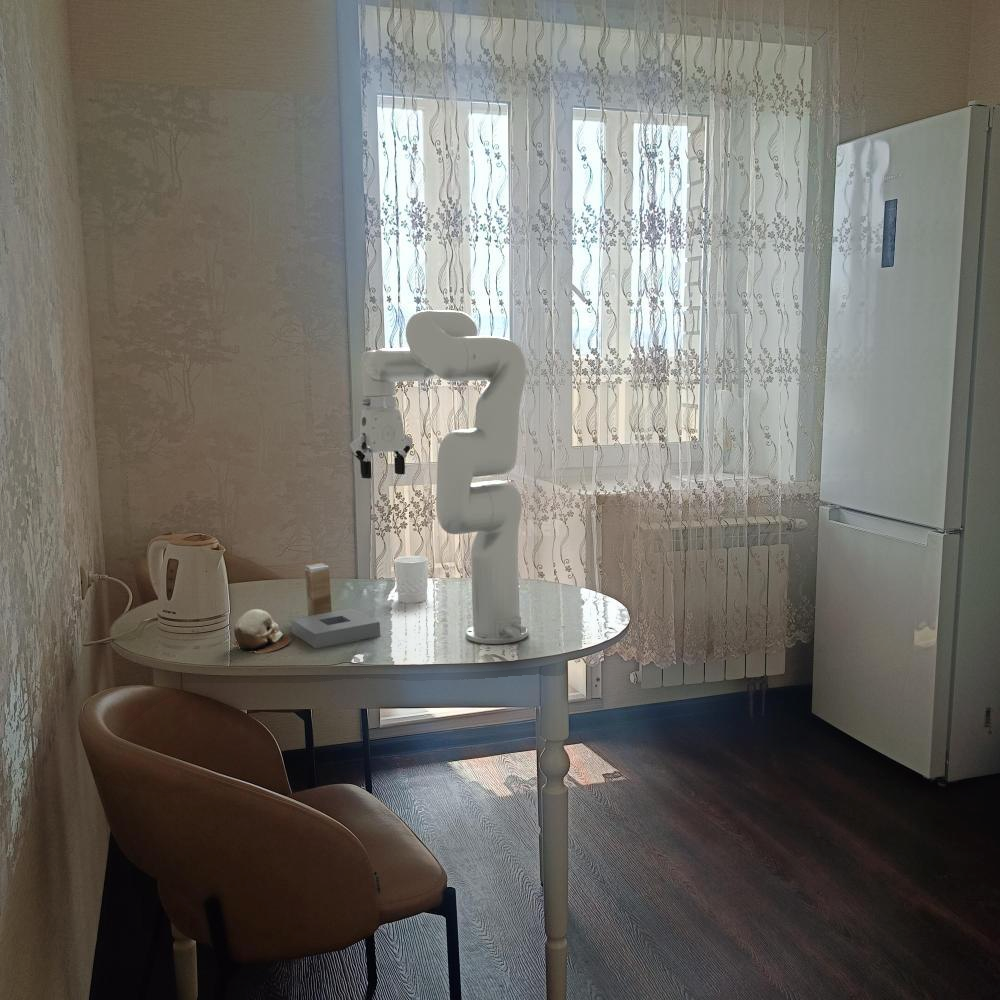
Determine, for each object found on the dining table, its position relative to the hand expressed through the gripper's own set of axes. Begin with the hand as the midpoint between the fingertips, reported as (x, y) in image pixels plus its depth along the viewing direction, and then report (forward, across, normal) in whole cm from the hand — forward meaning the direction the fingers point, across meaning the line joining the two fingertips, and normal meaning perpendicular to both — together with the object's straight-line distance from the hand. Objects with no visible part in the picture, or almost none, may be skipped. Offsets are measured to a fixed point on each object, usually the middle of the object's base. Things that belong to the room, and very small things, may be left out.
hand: (383, 476), depth 216 cm
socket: (+30, -26, -18) cm, 43 cm away
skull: (+30, -41, -12) cm, 52 cm away
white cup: (+30, +2, -7) cm, 31 cm away
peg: (+30, -22, -4) cm, 37 cm away
